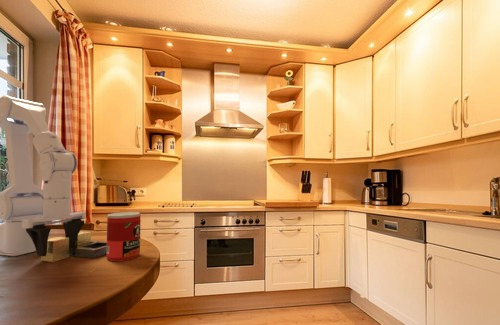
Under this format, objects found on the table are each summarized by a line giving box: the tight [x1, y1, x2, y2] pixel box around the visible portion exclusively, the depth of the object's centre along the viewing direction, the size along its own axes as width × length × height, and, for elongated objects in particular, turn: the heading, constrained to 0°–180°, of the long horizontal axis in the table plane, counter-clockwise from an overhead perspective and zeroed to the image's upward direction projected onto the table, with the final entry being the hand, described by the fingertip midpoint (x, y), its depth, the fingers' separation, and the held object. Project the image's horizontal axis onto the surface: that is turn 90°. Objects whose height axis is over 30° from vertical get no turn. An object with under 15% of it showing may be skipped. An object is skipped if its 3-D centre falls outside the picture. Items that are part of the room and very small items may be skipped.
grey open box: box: [68, 230, 107, 259], centre depth 72 cm, size 14×8×5 cm, turn 72°
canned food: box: [106, 211, 142, 262], centre depth 67 cm, size 8×8×11 cm
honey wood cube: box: [40, 236, 69, 263], centre depth 66 cm, size 4×4×5 cm
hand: (56, 252), depth 66 cm, fingers open, 6 cm apart
